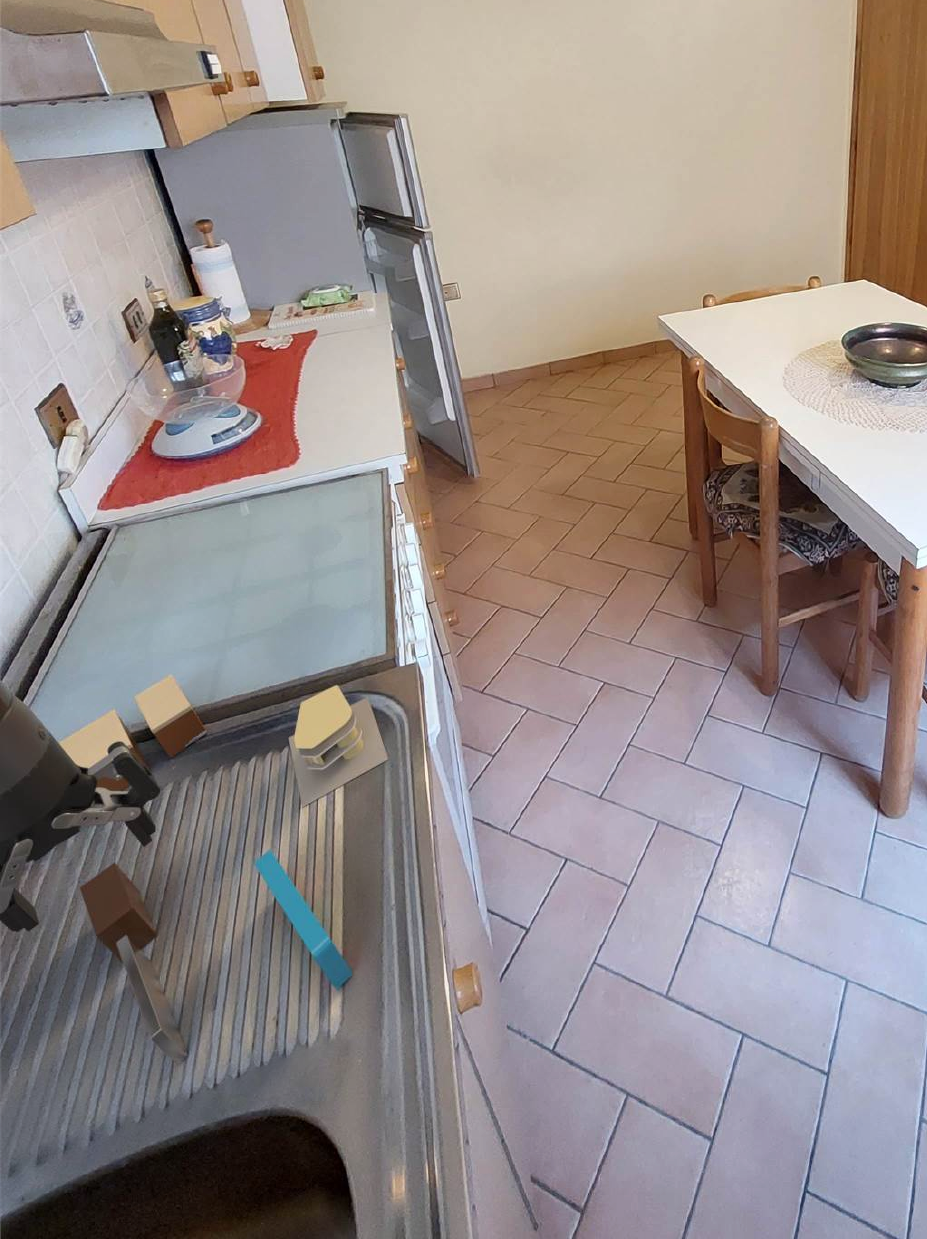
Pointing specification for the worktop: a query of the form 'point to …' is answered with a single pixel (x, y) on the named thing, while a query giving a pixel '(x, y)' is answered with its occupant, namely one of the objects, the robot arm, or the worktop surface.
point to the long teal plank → (303, 920)
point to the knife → (132, 951)
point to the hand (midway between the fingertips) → (91, 877)
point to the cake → (101, 746)
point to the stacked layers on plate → (333, 743)
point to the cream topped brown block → (169, 715)
